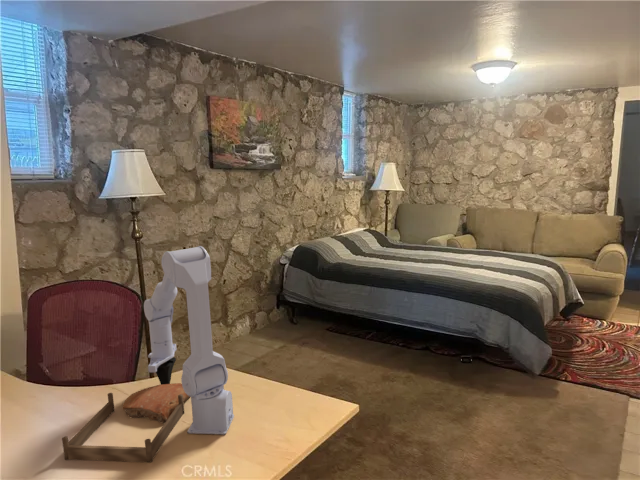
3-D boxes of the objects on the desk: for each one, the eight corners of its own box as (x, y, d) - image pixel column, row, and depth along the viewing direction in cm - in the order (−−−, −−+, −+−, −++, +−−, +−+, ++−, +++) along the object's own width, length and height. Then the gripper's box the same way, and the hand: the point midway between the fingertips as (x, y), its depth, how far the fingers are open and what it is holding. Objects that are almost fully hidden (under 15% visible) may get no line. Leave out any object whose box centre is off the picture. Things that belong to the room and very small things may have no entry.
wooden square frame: (185, 411, 119) (183, 394, 118) (151, 462, 100) (149, 442, 99) (111, 410, 121) (109, 392, 120) (63, 459, 101) (60, 439, 100)
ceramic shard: (146, 373, 130) (195, 384, 128) (144, 395, 131) (192, 407, 128) (114, 392, 116) (168, 406, 113) (111, 417, 117) (165, 431, 114)
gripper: (158, 329, 136) (162, 372, 139) (135, 350, 122) (140, 397, 124) (181, 329, 136) (185, 372, 138) (161, 350, 121) (165, 397, 124)
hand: (165, 384), depth 131 cm, fingers closed
